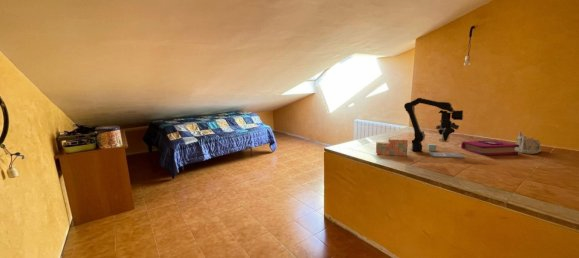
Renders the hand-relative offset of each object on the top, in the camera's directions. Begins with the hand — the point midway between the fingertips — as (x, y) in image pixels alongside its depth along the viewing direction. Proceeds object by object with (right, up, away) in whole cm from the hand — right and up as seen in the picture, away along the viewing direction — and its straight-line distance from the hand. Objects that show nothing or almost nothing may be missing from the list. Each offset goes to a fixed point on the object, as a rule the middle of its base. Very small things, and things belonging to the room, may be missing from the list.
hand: (444, 140), depth 180 cm
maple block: (0, -1, 0) cm, 1 cm away
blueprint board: (0, -11, -2) cm, 11 cm away
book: (+39, -10, +7) cm, 41 cm away
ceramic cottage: (+67, -9, +4) cm, 67 cm away
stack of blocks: (-37, -11, +6) cm, 39 cm away
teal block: (-1, -9, +15) cm, 17 cm away
